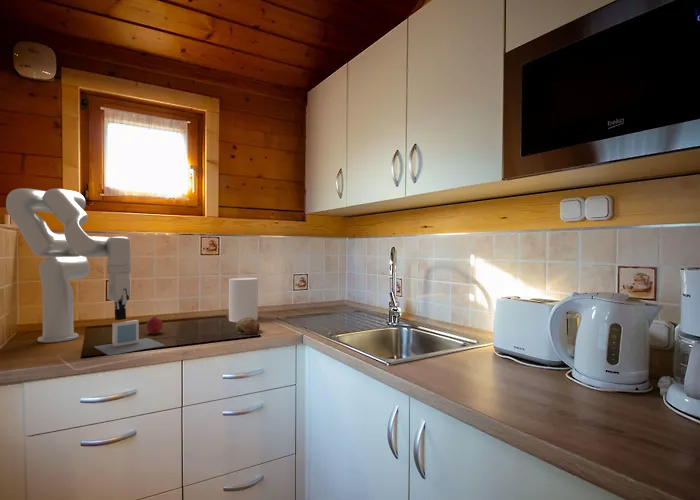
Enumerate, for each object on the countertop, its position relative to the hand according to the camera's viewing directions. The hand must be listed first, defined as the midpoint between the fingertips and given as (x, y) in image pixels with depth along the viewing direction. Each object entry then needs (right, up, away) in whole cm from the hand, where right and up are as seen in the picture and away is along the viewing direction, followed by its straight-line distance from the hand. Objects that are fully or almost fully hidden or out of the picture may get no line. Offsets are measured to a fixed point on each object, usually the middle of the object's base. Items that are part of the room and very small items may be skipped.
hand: (120, 319), depth 147 cm
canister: (+33, -8, +46) cm, 58 cm away
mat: (+7, -9, -7) cm, 14 cm away
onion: (+7, -9, +13) cm, 17 cm away
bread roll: (+42, -9, +20) cm, 47 cm away
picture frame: (+5, -8, -5) cm, 10 cm away
